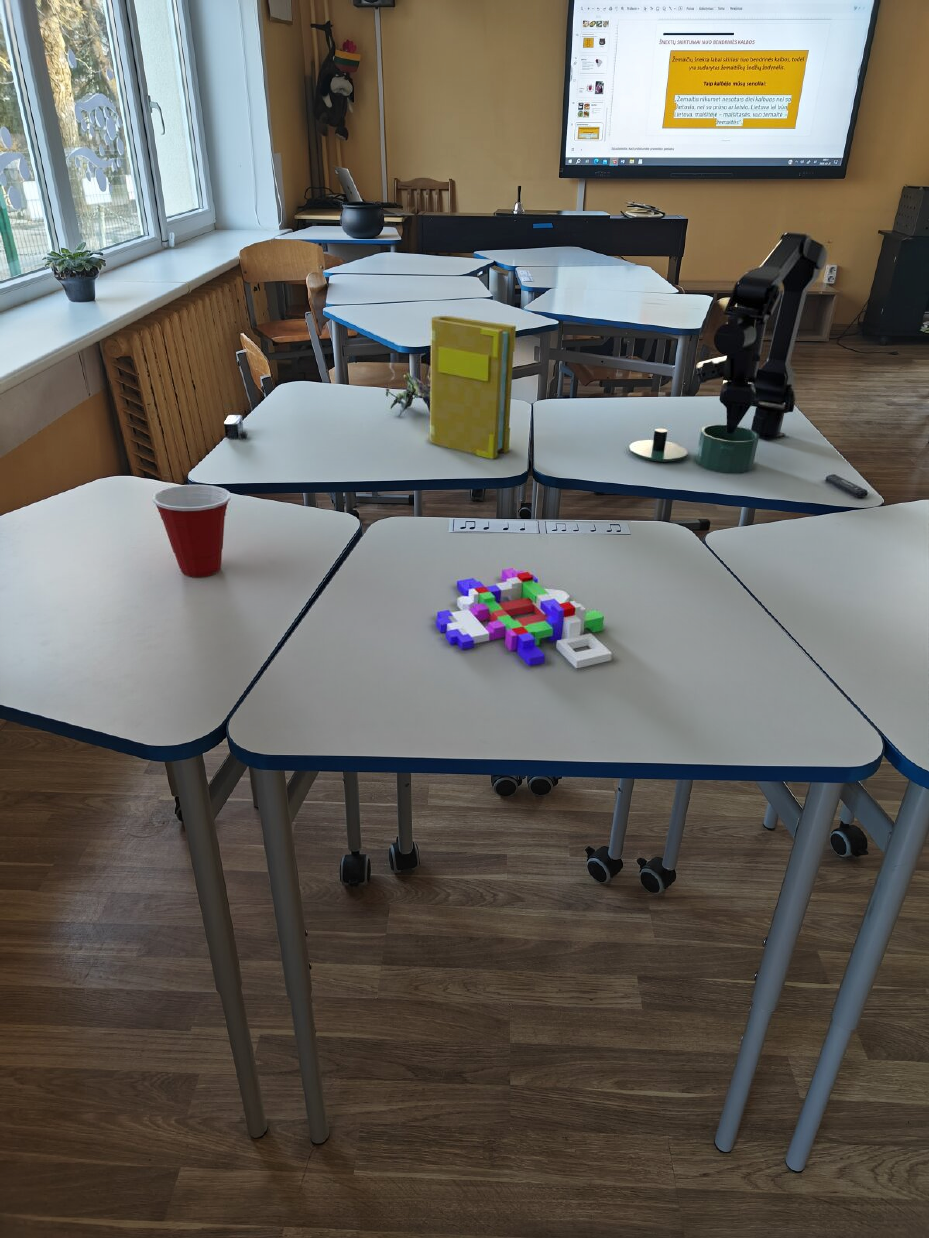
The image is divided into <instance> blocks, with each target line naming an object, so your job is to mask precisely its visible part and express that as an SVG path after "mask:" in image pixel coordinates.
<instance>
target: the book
mask: <svg viewBox="0 0 929 1238" xmlns="http://www.w3.org/2000/svg"><path fill="white" fill-rule="evenodd" d="M516 330H517V326H516V325H513V324H506V323H500V322H498V323H496V322H490V321H483V320H477V319H470V318H465V317H458V316H452V315H451V316H450V315H440V316H438V315H437V316H433V317H431V318H430V377H431V386H430V390H429V391H430V412H429V416H430V418H429V442H430V443H431V444H433V445H436V446H440V447H444V448H448V449H453V450H456V451H461V452H465V453H469V454H474V455H476V456H478V457H483V458H486V459H490V460H494V459H495V458H497V457H498V452H499V453H503V454H505V453H507V452H509V451H510V437H511V427H510V420H511V419H510V418H511V401H512V383H513V367H514V366H513V365H514V352H515V348H516Z"/></svg>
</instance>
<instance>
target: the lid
mask: <svg viewBox="0 0 929 1238" xmlns="http://www.w3.org/2000/svg"><path fill="white" fill-rule="evenodd" d="M667 437H668V430H667V429H665V428H655V429H654V432H653V439H643V440H636V441H633V442H631V443H630V445H629V447H628V451H629V452H630V453H631V454H632V455H634V456H635V457H638V458H641V459H644V460H649V461H653V462H676V461H681V460H684V459H686V458H687V456H688V454H689V452H688V449H687V448H686V447H684V446H682V445H681V444H678V443H675V442H671V441H667Z"/></svg>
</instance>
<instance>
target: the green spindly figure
mask: <svg viewBox="0 0 929 1238" xmlns="http://www.w3.org/2000/svg"><path fill="white" fill-rule="evenodd" d="M426 378H427V379H428V382H429V383H428V385H427V384H424V383H423V382H422V380H420V379H419V378H417V377H416V375H414V374H413V375H412V376H411V373H409V372H407V373H406V374H404V375H403V379H404V381H405V382H406V383H407V387H405V389H404V390H403V391H402V393H400V392H399V393H397V394H396V395H394V394H393V393H392V392H390V389H389V388H385V396H386V397H389V394H390V396H393V397H394V399H393V402H392V403H391V405H390V410H391V409H393V408H394V407H395V406H396V404H398V405H400V412H399V414H398V418H400V416H401V415H402V413H403V412H404V411H405V410H407V409H408V408H410V407H411V406H412V404H413V401H414V399H422V400H423V401H422V402H424V404H426V406H427V409H428V412H429V413H430V391H431V375H426Z"/></svg>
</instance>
